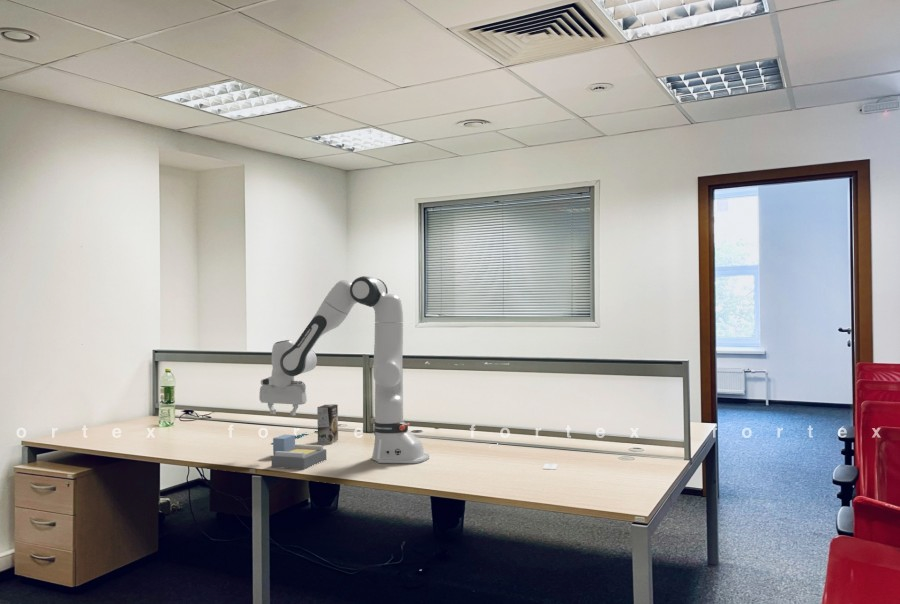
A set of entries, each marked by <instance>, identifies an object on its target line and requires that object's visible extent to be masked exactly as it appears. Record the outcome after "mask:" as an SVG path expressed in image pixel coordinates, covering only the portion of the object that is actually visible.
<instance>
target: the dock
mask: <svg viewBox="0 0 900 604" xmlns="http://www.w3.org/2000/svg"><path fill="white" fill-rule="evenodd" d="M294 446H295V448H293V449H290V450H288V451H285V452H283V451H276V452H275V455H274V454H273V455H271V468H277V467H284V468H283V469H291V468H294V469H295V470H306V469H308V467H309V468H311V467H313V466H315V465H314V464H316V465H318V464H320V463H322V462H324V460H325V461H327V449H324V445H321V444H317V445H316V444H298V443H295V445H294ZM321 461H322V462H321ZM319 462H320V463H319ZM317 463H318V464H317ZM312 465H313V466H312ZM310 466H311V467H310Z"/></svg>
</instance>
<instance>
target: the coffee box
mask: <svg viewBox="0 0 900 604" xmlns="http://www.w3.org/2000/svg"><path fill="white" fill-rule="evenodd" d="M338 406H339V405H338V404H324V405H321V406H317V409H316V412H317V430H318V431H317V445H331V444H332V445H333V442H334V443H336V442H337V440H338V441H339V421H338V420H339V417H338V416H339V415H338V414H339V413H338V412H339V411H338V410H339V409H338ZM335 441H336V442H335Z"/></svg>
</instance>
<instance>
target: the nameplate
mask: <svg viewBox="0 0 900 604" xmlns="http://www.w3.org/2000/svg"><path fill="white" fill-rule="evenodd" d="M304 435H305V436H308V434H305V433H301V434H297V435H295V439H296V438H297V439H301V438H303V437H305V436H304ZM296 436H297V437H296ZM302 436H303V437H302ZM270 445H273V442H271V443H270Z"/></svg>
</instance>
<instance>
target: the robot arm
mask: <svg viewBox="0 0 900 604" xmlns="http://www.w3.org/2000/svg"><path fill="white" fill-rule="evenodd" d="M357 303H358V304H360V305H363V306H366V307H370V308H372V309H373V310H374V346H373V347H374V348H373V349H374V350H373V370H372V371H373V372H372V373H373V376H372V377H373V379H374V423H373V434H374V443H373V444H374V445H373V451H372V455H371V459H372V460H373V461H375V462H376V463H378V464H419V463H423V462H425V461H427V460H428V459H430V454H429V453H427V452H425V450H424V445H423V442H422V441H421V440H420V439H419V438H418V437H416V436H415V435H414V434H413V433H412V432H411V431H409V428H408V427H409V426H410V422H408V423H407V422H405V420H404V381H403V380H404V377H403V376H404V375H403V373H404V371H403V369H404V368H403V357H404V356H403V353H404V352H403V351H404V349H403V348H404V347H403V346H404V345H403V344H404V337H403V336H404V315H403V314H404V312H403V306H402V305H403V304H402V300H401V298H400V297H399V296H398V295H395V294H392V293H388V287H387V285H386V283H385V282H384V281H383V280H381V279H379V278H377V277H373V276H367V275H366V276H365V275H364V276H359V277H357V278H355V279H354V280H353V281H352V282H351V281H349V280H344V279H343V280H342V279H341V280H339V281H337V283H336V284H334V286H333V287H332V288H331V289H330V291H329V292H328V293H327V294H326V296H325V298H324V299H323V301H322V302H321V304H320V305H319V307H318V309H317V311H316V313H315V314H314V316H313V317H312V319H311V320H310V322H309V323H308V324H307V326H306V328H305V329H304V331H302V332H301V335H299V337H298V339H297V340H296V341H295V342H294V341H293V340H291V339H288V340H287V339H286V340H281V341H277V342H275V343H273V345H272V349H271V366H272V370H271V376H269V377H266V378H263V379H261V380H260V388H259V401H260V403H261V404H262V403H263V404H267V407H268V409H269V411H270V412H269V413H270V415H276V410H277V409H275V408H274V405H275V404H279V405H280V404H281V405H282V404H283V405H292V410H290V413H289V414H290V416H296V415H297V410H298V408H299V405H304V404H306V402H307V391H306V388H307V387H306V386H307V385H306V384H305V382H303V381H302V380H295V377H296V376H298V375H302V374H304V373H308V372H311V371H313V370H314V369H315V368H316V366H317V365H318V356H317V354H316V353H315V351H314V350H312V349H313V347H315V345H316V343H317V341H318V340H319V339H320V338H321V337H322V336H323V335H324V334H326V333H328V332H330V331H332V330H334V329H336V328H338V327H339V326H341V324H342V323H344V321H345V320H346V318H347V317H348V315H349V313H350V312H351V310H352V308H353V307H354V306H355V305H356V304H357Z"/></svg>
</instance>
